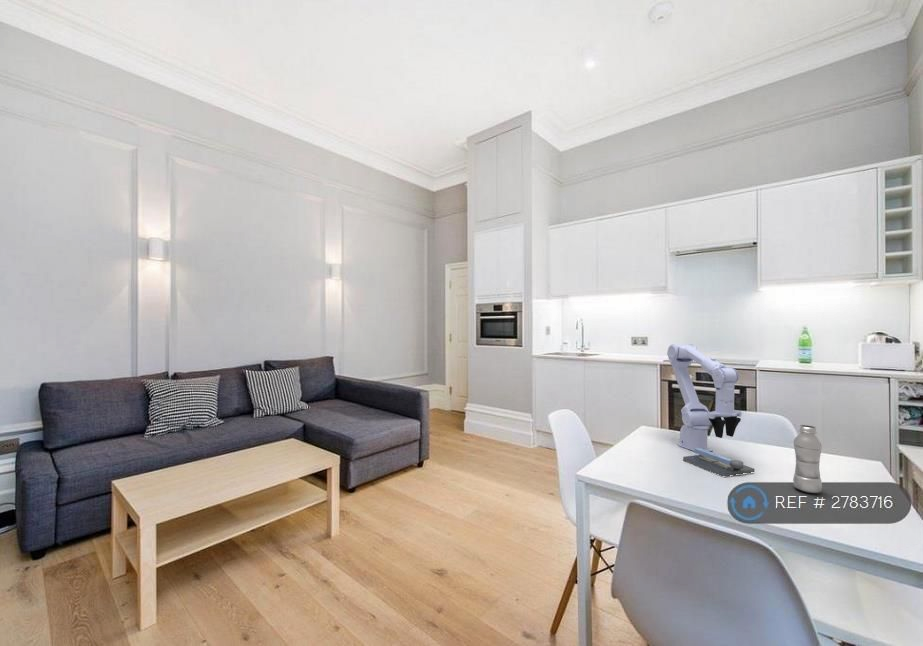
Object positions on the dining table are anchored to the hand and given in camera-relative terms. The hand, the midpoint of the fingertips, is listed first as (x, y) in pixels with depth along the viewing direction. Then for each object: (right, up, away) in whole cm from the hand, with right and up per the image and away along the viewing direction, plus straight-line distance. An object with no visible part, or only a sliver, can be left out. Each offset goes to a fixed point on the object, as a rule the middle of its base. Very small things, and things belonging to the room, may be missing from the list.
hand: (724, 436), depth 141 cm
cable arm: (-6, -7, -5) cm, 10 cm away
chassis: (-6, -9, -5) cm, 12 cm away
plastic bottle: (+9, -10, -24) cm, 28 cm away
